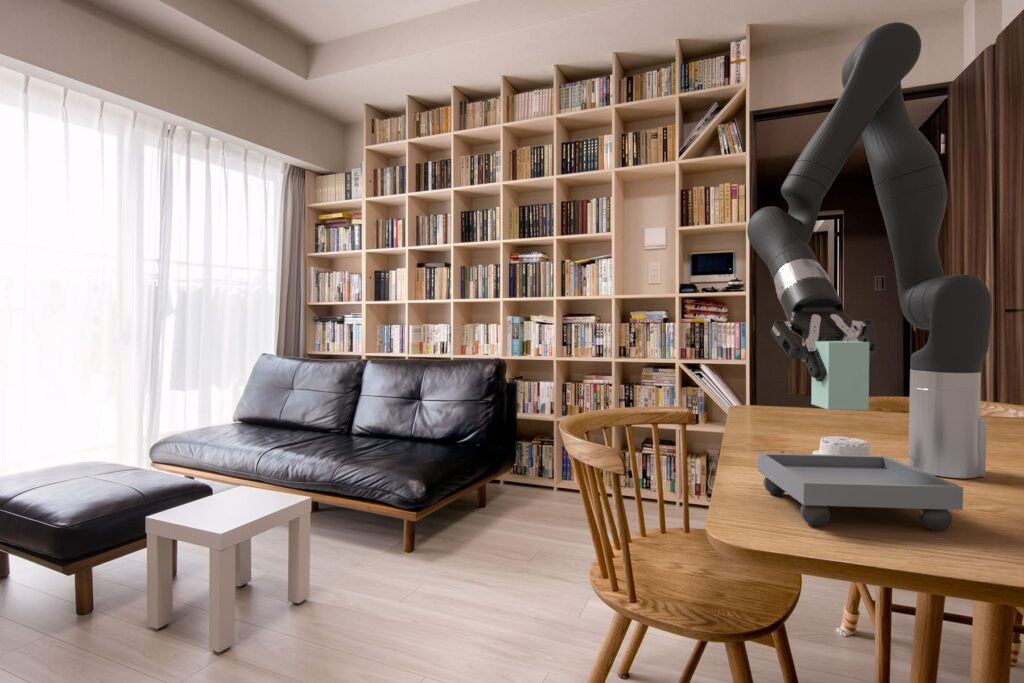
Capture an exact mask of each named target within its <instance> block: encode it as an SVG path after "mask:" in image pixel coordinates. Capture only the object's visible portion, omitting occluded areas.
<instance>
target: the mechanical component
mask: <svg viewBox="0 0 1024 683" xmlns="http://www.w3.org/2000/svg"><path fill="white" fill-rule="evenodd" d="M869 445H870V443H869V442H868V441H866V440H863V439H859V438H854V437H847V436H836V435H835V436H833V435H832V436H831V435H830V436H822V437H821V438H819V449H817V450H814V451H812V453H811V454H821V455H868V456H871V455H870V446H869Z"/></svg>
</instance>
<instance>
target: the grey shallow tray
mask: <svg viewBox="0 0 1024 683" xmlns="http://www.w3.org/2000/svg"><path fill="white" fill-rule="evenodd" d="M757 471H758V473H760V474H761V475H763V476H764V480H763V486H764V489H765V490H766V491H767V492H769V493H770V494H771V495H773V496H782V495H783V494H785V493H786V494H789V495H790V496H791V497H792V498H793V499H794V500H796V501H798V502H799V503H800V504H801V506H800V508H799V514H800V517H801V518H802V520H803V521H804V522H805V523H806V524H808V525H809V526H812V527H814V528H821V527H823V526H826V525H827V524H828V522H829V520H830V517H831V514H830V511H829V510H830V509H829V508H828V506H829V507H850V508H851V507H854V508H855V507H856V508H857V507H858V508H883V509H884V508H887V509H915V510H916V509H919V512H918V518H919V521H920V523H921V524H922V525H924V526H925V527H927V528H928V529H930V530H932V531H935V532H943V531H946V530H948V529H949V528H950V526H951V525H952V522H953V515H952V512H950V510H952V511H954V510H955V511H963V510H964V508H963V507H964V487H963V486H961V485H958V484H955V483H953V482H950V481H948V480H945V479H943V478H941V477H940V476H939V477H938V476H936V475H931V474H929V473H926V472H924V471H921V470H919V469H916V468H914V467H911V466H909V465H908V464H907V463H904V462H902V461H899V460H897V459H894V458H891V457H889V456H886V455H870V456H868V455H821V454H812V453H808V454H806V453H771V452H770V453H769V452H768V453H765V452H764V453H762V452H758V454H757Z"/></svg>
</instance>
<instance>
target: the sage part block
mask: <svg viewBox="0 0 1024 683" xmlns="http://www.w3.org/2000/svg"><path fill="white" fill-rule="evenodd" d="M814 342H815V344H816V346H817V349H816V352H819V354H820V357H821V359H822V361H823V363H824V366H825V368H826V371H827V374H826V376H825V378H824V380H823V381H816V379H815V378H813V377H812V376H811V400H810V401H811V402H810V403H811V405H813V406H816V407H819V408H822V409H825V410H829V411H832V410H833V411H837V410H838V411H869V409H870V408H869V403H870V402H869V400H870V398H869V397H870V395H869V394H870V378H869V360H870V359H869V342H858V341H843V340H842V341H814Z"/></svg>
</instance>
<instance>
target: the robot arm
mask: <svg viewBox="0 0 1024 683" xmlns="http://www.w3.org/2000/svg"><path fill="white" fill-rule="evenodd" d="M921 49H922V39H921V36H920V34H919V32H918V31H917V29H916V28H915V27H913V26H912V25H910V24H908V23H905V22H895V21H894V22H889V23H885V24H883V25H881V26H879V27H877V28H875V29H873V31H871V32H869V33H868V34H867V35H866V36H865V37H864V38H863V39H862V40H861V41H860V42H859V43H858V44H857V46H856V47H855V48H853V49H852V51H851V52H850V54H849V55H848V56H847V57H846V59H845V61H844V63H843V65H842V70H841V84H842V87H843V90H842V91H841V94H840V96H839V97H838V99H837V101H836V102H835V104H834V106H833V107H832V108H831V110H830V112H829V113H828V114H827V116H826V117H825V119H824V120H823V122H822V123H821V125H820V126H819V127H818V128H817V130H816V131H815V133H814V134H813V135H812V137H811V138H810V140H809V141H808V143H807V144H806V145H805V147H804V148H803V150H802V151H801V153H800V155H799V156H798V158H797V159H796V161H795V163H794V164H793V166H792V168H791V170H790V171H789V173H788V174H787V177H786V178H785V179H784V182H783V184H782V185H781V187H780V192H781V196H783V198H784V200H786V202H787V204H788V212H787V211H785V210H783V209H782V208H780V207H777V206H771V205H770V206H764V207H762V208H760V209H758V210H757V211H756V212H755V213H753V215H752V216H751V217H750V219H749V221H748V224H747V228H746V231H747V232H746V233H747V239H748V241H749V243H750V245H751V246H752V248H753V250H755V252H756V253H757V254H758V257H760V259H761V260H762V261H763V262H764V263H765V264H766V266H767V267H768V270H769V273H770V275H771V278H772V280H773V283H774V285H775V292H776V294H777V299H778V300H779V302H780V305H781V307H782V309H783V312H784V314H785V317H786V319H787V320H786V321H785V320H783V319H781V318H776V319H775V320H774V323H773V325H772V328H771V331H770V334H771V336H772V337H773V338H774V339H775V341H776V342H777V344H778V345H779V346H780V348H781V349H782V351H783V352H784V353H785V355H786V356H787V358H789V359H790V360H795V359H801V360H802V361H803V362H804V363H805V365H806V368H807V370H808V373H809V376H811V378H812V377H813V378H815V379H816V381H823V380H824V378H825V376H826V374H827V371H826V368H825V366H824V363H823V361H822V359H821V357H820V354H819V352H816V349H817V346H816V344H815V342H814V341H858V342H869V379H870V378H871V376H872V375H873V373H874V371H875V367H874V366H873V364H872V362H871V359H872V358H873V356H874V354H875V352H876V350H877V349H878V348H879V346H880V345H879V344H880V343H879V340H878V335H877V331H876V330H877V329H876V324H875V321H874V320H873V318H870V317H866V318H865V319H864V320H863V321H861V320H854V319H852V318H851V317H850V316H849V315H848V314H846V313H845V311H844V306H843V302H842V300H841V299H840V296H839V295H838V292H837V290H836V288H835V287H834V285H833V283H832V281H831V279H830V277H829V275H828V274H827V272H826V270H824V268H823V267H822V266H821V264H820V262H819V261H818V258H817V257H816V255H815V253H814V251H813V249H812V248H811V247H810V246H809V245H808V244H809V243H810V240H811V238H812V236H813V233H814V230H815V225H816V223H817V220H818V216H819V214H820V210H821V206H822V202H823V199H824V198H825V196H826V194H827V192H828V191H829V190H830V188H831V186H832V185H833V183H834V182H835V180H836V178H837V176H838V175H839V173H840V171H841V170H842V168H843V166H844V164H845V163H846V162H847V160H848V158H849V156H850V154H851V153H852V150H853V149H854V147H855V146H856V144H857V143H858V141H859V140H860V137H862V141H863V145H864V149H865V154H866V157H867V162H868V164H869V169H870V173H871V177H872V182H873V186H874V190H875V193H876V198H877V200H878V201H877V202H878V206H879V208H880V211H881V215H882V217H883V221H884V225H885V228H886V229H885V230H886V234H887V238H888V241H889V245H890V250H891V254H892V257H893V263H894V269H895V276H896V277H895V278H896V284H897V292H898V299H899V300H898V301H899V305H900V309H901V311H902V314H903V316H904V318H905V319H906V321H907V322H908V323H910V325H912V326H913V327H915V328H917V329H919V330H924V331H925V330H926V331H928V332H929V335H928V340H927V342H926V343H925V345H924V346H923V347H922V348H920V349H918V350H916V351H915V352H913V353H912V354H911V356H910V362H909V364H910V365H909V366H910V369H909V373H910V374H909V411H908V412H909V419H908V456H907V458H908V459H907V462H908V464H907V465H909V466H911V467H914V468H916V469H919V470H921V471H924V472H926V473H929V474H931V475H934V476H936V477H938V476H939V477H942V478H943V477H944V478H953V479H975V478H978V477H986V467H987V466H986V465H987V464H986V459H987V428H988V427H987V423H988V422H987V419H986V418H985V417H982V416H981V383H982V382H981V381H982V380H981V379H982V378H981V377H982V372H981V371H982V366H983V365H982V364H983V361H984V360H985V358H986V356H987V354H988V351H989V346H990V334H991V324H992V313H993V312H992V311H993V304H992V303H993V301H992V295H991V292H990V290H989V287H988V286H987V285H986V284H985V282H984V281H983V280H982V279H980V278H979V277H977V276H974V275H971V274H965V273H961V274H950V275H945V271H944V269H943V266H942V261H941V257H940V253H939V252H940V251H939V237H940V232H941V229H942V228H941V227H942V225H943V221H944V217H945V213H946V211H947V210H946V209H947V204H948V195H949V194H948V188H947V183H946V179H945V175H944V171H943V167H942V163H941V160H940V158H939V155H938V153H937V151H936V149H935V148H934V146H933V145H932V144H931V143H930V141H929V140H928V139H927V138H926V136H925V135H924V134H923V133H922V132H921V131H920V130H919V129H918V127H917V126H916V125H915V124H914V121H913V120H912V119H911V116H910V115H909V112H908V110H907V106H906V103H905V98H904V95H903V89H902V80H903V79H904V78H905V77H906V76H907V75H908V74H909V73H910V72H911V71H912V70H913V69H914V67H915V66H916V64H917V62H918V60H919V58H920V54H921V51H922V50H921ZM796 336H798V337H800V338H801V339H802V343H801V342H800V341H799V339H798V338H797V337H796ZM858 338H859V339H858Z"/></svg>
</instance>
